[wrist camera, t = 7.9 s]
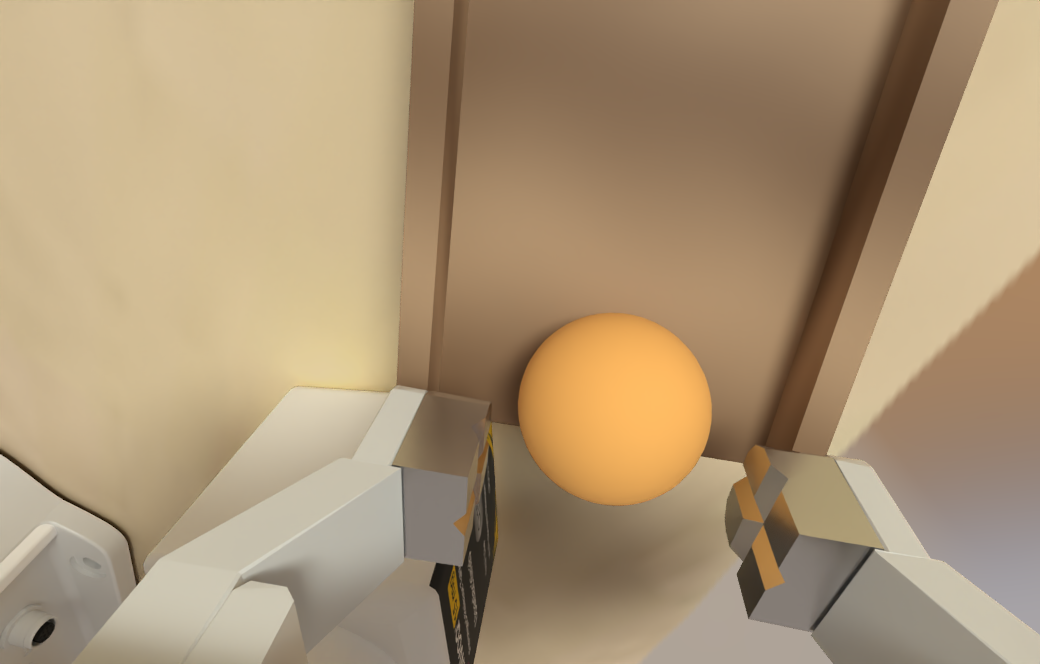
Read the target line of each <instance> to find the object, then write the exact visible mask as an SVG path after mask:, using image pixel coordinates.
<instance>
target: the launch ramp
mask: <svg viewBox="0 0 1040 664" xmlns="http://www.w3.org/2000/svg"><path fill="white" fill-rule="evenodd" d="M998 1H999V0H415V1H414V22H413V44H412V65H411V87H410V108H409V130H408V152H407V173H406V195H405V216H404V238H403V259H402V281H401V303H400V324H399V346H398V367H397V385H400V386H406V387H411V388H417V389H422V390H427V391H429V390H430V391H436V392H441V393H446V394H452V395H457V396H463V397H468V398H474V399H479V400H484V401H490V402H491V403H492V414H491V422H497V423H503V424H509V425H515V426H520V423H519V416H518V398H519V390H520V385H521V381H522V378H523V375H524V372H525V370H526V367H527V365H528V363H529V361H530V359H531V358H532V356H533V355H534V353H535V352H536V351H537V349H538V348H539V347H540V345H541V344H542V343H543V342H544V341H545V340H546V339H547V338H548V337H549V336H551V335H552V334H553V333H554V332H555V331H557V330H558V329H560V328H562V327H563V326H565V325H566V324H568V323H570V322H572V321H574V320H577V319H580V318H583V317H586V316H589V315H594V314H600V313H624V314H631V315H635V316H639V317H643V318H646V319H648V320H650V321H653V322H655V323H657V324H659V325H660V326H662V327H664V328H666V329H667V330H669V331H670V332H672V333H673V334H674V335H675V336H677V337H678V338H679V339H680V340H681V341H682V342H683V343H684V344H685V345H686V346H687V347H688V348H689V350H690V351H691V352H692V354H693V355H694V356H695V358H696V359H697V361H698V363H699V365H700V367H701V369H702V371H703V373H704V374H705V377H706V380H707V383H708V387H709V391H710V396H711V403H712V421H711V427H710V433H709V437H708V440H707V443H706V446H705V449H704V451H703V453H702V454H701V456H703V457H709V458H715V459H721V460H727V461H733V462H739V463H743V462H744V460H745V458H746V456H747V454H748V452H749V451H750V450H751V449H752V448H753V447H754V446H755V445H760V446H767V447H773V448H780V449H786V450H792V451H799V452H805V453H812V454H818V455H823V456H825V455H826V454H827V452H828V449H829V446H830V444H831V441H832V438H833V436H834V433H835V431H836V428H837V425H838V423H839V420H840V417H841V415H842V412H843V409H844V407H845V404H846V402H847V399H848V396H849V394H850V391H851V388H852V386H853V383H854V380H855V378H856V375H857V373H858V370H859V367H860V365H861V362H862V359H863V357H864V354H865V352H866V349H867V346H868V344H869V341H870V338H871V336H872V333H873V330H874V328H875V325H876V323H877V320H878V317H879V315H880V312H881V309H882V307H883V304H884V301H885V299H886V296H887V294H888V291H889V288H890V286H891V283H892V280H893V278H894V275H895V273H896V270H897V267H898V265H899V262H900V259H901V257H902V254H903V251H904V249H905V246H906V244H907V241H908V238H909V236H910V233H911V230H912V228H913V225H914V222H915V220H916V217H917V215H918V212H919V209H920V207H921V204H922V201H923V199H924V196H925V194H926V191H927V188H928V186H929V183H930V180H931V178H932V175H933V172H934V170H935V167H936V165H937V162H938V159H939V157H940V154H941V151H942V149H943V146H944V143H945V141H946V138H947V136H948V133H949V130H950V128H951V125H952V122H953V120H954V117H955V115H956V112H957V109H958V107H959V104H960V101H961V99H962V96H963V93H964V91H965V88H966V86H967V83H968V80H969V78H970V75H971V72H972V70H973V67H974V64H975V62H976V59H977V57H978V54H979V51H980V49H981V46H982V43H983V41H984V38H985V36H986V33H987V30H988V28H989V25H990V22H991V20H992V17H993V14H994V12H995V9H996V7H997V4H998Z"/></svg>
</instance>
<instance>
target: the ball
mask: <svg viewBox="0 0 1040 664" xmlns="http://www.w3.org/2000/svg"><path fill="white" fill-rule="evenodd" d="M518 416H519V423H520V429H521V432H522V435H523V438H524V441H525V444H526V446H527V448H528V450H529V452H530V454H531V456H532V458H533V459H534V461H535V462H536V464H537V465H538V466H539V468H540V469H541V470H542V471H543V472H544V473H545V475H546V476H547V477H549V478H550V479H551V480H552V481H553V482H554V483H555V484H557V485H558V486H559V487H561V488H562V489H564V490H565V491H567V492H569V493H570V494H572V495H574V496H576V497H579V498H581V499H584V500H586V501H590V502H593V503H597V504H603V505H612V506H624V505H633V504H637V503H642V502H645V501H648V500H651V499H653V498H656V497H658V496H660V495H662V494H664V493H666V492H667V491H669V490H671V489H672V488H674V487H675V486H676V485H677V484H679V483H680V482H681V481H682V480H683V479H684V478H685V477H686V476H687V475H688V474H689V473H690V472H691V470H692V469H693V468H694V466H695V465H696V464H697V462H698V460H699V458H700V456H701V454H702V453H703V451H704V449H705V446H706V443H707V440H708V437H709V433H710V427H711V421H712V403H711V396H710V391H709V387H708V383H707V380H706V377H705V374H704V373H703V371H702V369H701V367H700V365H699V363H698V361H697V359H696V358H695V356H694V355H693V354H692V352H691V351H690V350H689V348H688V347H687V346H686V345H685V344H684V343H683V342H682V341H681V340H680V339H679V338H678V337H677V336H675V335H674V334H673V333H672V332H670V331H669V330H667V329H666V328H664V327H662V326H660V325H659V324H657V323H655V322H653V321H650V320H648V319H646V318H643V317H639V316H635V315H631V314H624V313H600V314H594V315H589V316H586V317H583V318H580V319H577V320H574V321H572V322H570V323H568V324H566V325H565V326H563V327H562V328H560V329H558V330H557V331H555V332H554V333H553V334H552V335H551V336H549V337H548V338H547V339H546V340H545V341H544V342H543V343H542V344H541V345H540V347H539V348H538V349H537V351H536V352H535V353H534V355H533V356H532V358H531V359H530V361H529V363H528V365H527V367H526V370H525V372H524V375H523V378H522V381H521V385H520V390H519V398H518Z"/></svg>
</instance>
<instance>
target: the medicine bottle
mask: <svg viewBox="0 0 1040 664" xmlns="http://www.w3.org/2000/svg"><path fill="white" fill-rule="evenodd" d="M388 394H389V392H376V391H361V390H347V389H333V388H318V387H304V386H297V387H294V388H292V389H290V391H289V392H288V393H287V394H286V395H285V396H284V397H283V399H282V400H281V401H280V402H279V403H278V404H277V406H276V407H275V408H274V409H273V410H272V411H271V413H270V414H269V415H268V416H267V417H266V418H265V420H264V421H263V422H262V423H261V424H260V425H259V427H258V428H257V429H256V430H255V431H254V432H253V434H252V435H251V436H250V437H249V438H248V439H247V440H246V442H245V443H244V444H243V445H242V446H241V447H240V449H239V450H238V451H237V452H236V453H235V454H234V456H233V457H232V458H231V459H230V460H229V461H228V463H227V464H226V465H225V466H224V467H223V468H222V470H221V471H220V472H219V473H218V474H217V475H216V477H215V478H214V479H213V480H212V481H211V482H210V484H209V485H208V486H207V487H206V488H205V489H204V491H203V492H202V493H201V494H200V495H199V496H198V498H197V499H196V500H195V501H194V502H193V503H192V505H191V506H190V507H189V508H188V509H187V510H186V512H185V513H184V514H183V515H182V516H181V517H180V519H179V520H178V521H177V522H176V523H175V524H174V526H173V527H172V528H171V529H170V530H169V531H168V533H167V534H166V535H165V536H164V537H163V538H162V540H161V541H160V542H159V543H158V544H157V545H156V547H155V548H154V549H153V550H152V551H151V552H150V553H149V555H148V556H147V558H146V560H145V562H144V564H143V566H144V572H145V575H146V574H147V573H148V572H149V571H150V570H151V568H152V567H153V566H154V565H155V564H156V562H157V561H158V560H159V559H160V558H162V557H164V556H165V555H167V554H169V553H171V552H173V551H174V550H176V549H178V548H180V547H182V546H183V545H185V544H187V543H189V542H190V541H192V540H194V539H196V538H198V537H199V536H201V535H203V534H205V533H207V532H208V531H210V530H212V529H214V528H215V527H217V526H219V525H221V524H223V523H224V522H226V521H228V520H230V519H232V518H233V517H235V516H237V515H239V514H240V513H242V512H244V511H246V510H248V509H249V508H251V507H253V506H255V505H257V504H258V503H260V502H262V501H264V500H265V499H267V498H269V497H271V496H273V495H274V494H276V493H278V492H280V491H282V490H283V489H285V488H287V487H289V486H291V485H292V484H294V483H296V482H298V481H299V480H301V479H303V478H305V477H307V476H308V475H310V474H312V473H314V472H316V471H317V470H319V469H321V468H323V467H324V466H326V465H328V464H330V463H332V462H333V461H335V460H337V459H339V458H346V459H351V458H352V456H353V454H354V452H355V451H356V449H357V447H358V446H359V444H360V442H361V440H362V439H363V437H364V435H365V433H366V432H367V430H368V428H369V427H370V425H371V423H372V421H373V420H374V418H375V416H376V415H377V413H378V411H379V409H380V408H381V406H382V404H383V403H384V401H385V399H386V397H387V396H388ZM486 440H487V441H488V443H489V449H488V458H487V465H486V471H485V477H484V482H483V487H482V491H481V495H480V500H479V503H478V504H477V505H475V506H474V517H473V528H472V532H471V535H470V539H469V543H468V547H467V551H466V555H465V559H464V562H463V566H455V565H449V564H442V563H436V562H429V561H423V560H416V559H410V558H404V562H403V563H402V564H401V565H400V566H399V567H398V568H397V569H396V570H395V571H394V572H393V573H392V574H391V575H389V576H388V577H387V578H386V579H385V580H384V581H383V582H382V583H381V584H380V585H379V586H378V587H377V588H376V589H375V590H374V591H373V592H372V593H371V594H369V595H368V596H367V597H366V598H365V599H364V600H363V601H362V602H361V603H360V604H359V605H358V606H357V607H356V608H355V609H354V610H353V611H352V612H351V613H349V614H348V615H347V616H346V617H345V618H344V619H343V620H342V621H341V622H340V623H339V624H338V625H337V626H336V627H335V628H334V629H333V630H332V631H331V632H329V633H328V634H327V635H326V636H325V637H324V638H323V639H322V640H321V641H320V642H319V643H318V644H317V645H316V646H315V647H314V648H313V649H312V650H311V651H309V652H308V653H307V654H306V655H307V660H308V664H473V663H474V658H475V653H476V648H477V643H478V638H479V633H480V628H481V623H482V617H483V612H484V607H485V602H486V597H487V592H488V587H489V582H490V577H491V572H492V566H493V561H494V556H495V551H496V546H497V541H498V525H497V508H496V491H495V475H494V458H493V441H492V424H490V428H489V432H488V435H487V439H486Z"/></svg>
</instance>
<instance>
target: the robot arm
mask: <svg viewBox="0 0 1040 664" xmlns="http://www.w3.org/2000/svg"><path fill="white" fill-rule="evenodd" d="M491 414H492V403H491V402H490V401H484V400H479V399H474V398H468V397H463V396H457V395H452V394H446V393H441V392H436V391H430V390H429V391H427V390H422V389H417V388H411V387H406V386H400V385H397V386H396V387H394V388H393V389H392V390H390V392H389V394H388V396H387V397H386V399H385V401H384V403H383V404H382V406H381V408H380V409H379V411H378V413H377V415H376V416H375V418H374V420H373V421H372V423H371V425H370V427H369V428H368V430H367V432H366V433H365V435H364V437H363V439H362V440H361V442H360V444H359V446H358V447H357V449H356V451H355V452H354V454H353V456H352V458H351V459H346V458H339V459H337V460H335V461H333V462H332V463H330V464H328V465H326V466H324V467H323V468H321V469H319V470H317V471H316V472H314V473H312V474H310V475H308V476H307V477H305V478H303V479H301V480H299V481H298V482H296V483H294V484H292V485H291V486H289V487H287V488H285V489H283V490H282V491H280V492H278V493H276V494H274V495H273V496H271V497H269V498H267V499H265V500H264V501H262V502H260V503H258V504H257V505H255V506H253V507H251V508H249V509H248V510H246V511H244V512H242V513H240V514H239V515H237V516H235V517H233V518H232V519H230V520H228V521H226V522H224V523H223V524H221V525H219V526H217V527H215V528H214V529H212V530H210V531H208V532H207V533H205V534H203V535H201V536H199V537H198V538H196V539H194V540H192V541H190V542H189V543H187V544H185V545H183V546H182V547H180V548H178V549H176V550H174V551H173V552H171V553H169V554H167V555H165V556H164V557H162V558H160V559H159V560H158V561H157V562H156V564H155V565H154V566H153V567H152V568H151V570H150V571H149V572H148V573H147V574H146V575H145V577H144V578H143V579H142V580H141V581H140V583H139V584H138V585H137V586H136V581H135V576H134V571H133V566H132V562H131V557H130V552H129V547H128V543H127V541H126V539H125V537H124V536H123V535H122V534H121V533H120V532H119V531H118V530H117V529H115V528H114V527H113V526H111V525H110V524H108V523H106V522H105V521H103V520H101V519H99V518H97V517H96V516H94V515H92V514H90V513H88V512H86V511H84V510H82V509H80V508H78V507H76V506H74V505H72V504H70V503H69V502H67V501H65V500H63V499H61V498H59V497H58V496H56V495H55V494H53V493H52V492H51V491H49V490H48V489H46V488H45V487H44V486H42V485H41V484H40V483H39V482H37V481H36V480H35V479H33V478H32V477H31V476H30V475H28V474H27V473H26V472H24V471H23V470H22V469H20V468H19V467H18V466H16V465H15V464H14V463H12V462H11V461H9V460H8V459H7V458H5V457H4V456H2V455H1V454H0V664H308V660H307V655H306V654H307V653H308V652H309V651H311V650H312V649H313V648H314V647H315V646H316V645H317V644H318V643H319V642H320V641H321V640H322V639H323V638H324V637H325V636H326V635H327V634H328V633H329V632H331V631H332V630H333V629H334V628H335V627H336V626H337V625H338V624H339V623H340V622H341V621H342V620H343V619H344V618H345V617H346V616H347V615H348V614H349V613H351V612H352V611H353V610H354V609H355V608H356V607H357V606H358V605H359V604H360V603H361V602H362V601H363V600H364V599H365V598H366V597H367V596H368V595H369V594H371V593H372V592H373V591H374V590H375V589H376V588H377V587H378V586H379V585H380V584H381V583H382V582H383V581H384V580H385V579H386V578H387V577H388V576H389V575H391V574H392V573H393V572H394V571H395V570H396V569H397V568H398V567H399V566H400V565H401V564H402V563H403V562H404V558H410V559H416V560H423V561H429V562H436V563H442V564H449V565H455V566H463V562H464V559H465V555H466V551H467V547H468V543H469V539H470V535H471V532H472V528H473V517H474V506H475V505H477V504H478V503H479V500H480V495H481V491H482V487H483V482H484V477H485V471H486V465H487V458H488V449H489V443H488V441H487V440H486V439H487V435H488V432H489V428H490V424H491ZM743 466H744V469H745V472H746V475H747V477H745V478H743V479H742V480H740V481H738V482H736V483H735V484H733V486H732V489H731V491H730V494H729V496H728V499H727V504H726V512H725V526H726V534H727V538H728V542H729V546H730V548H731V549H732V550H733V551H734V552H735V553H736V554H737V555H738V556H739V557H740V559H741V560H742V561H743V563H742V565H741V567H740V569H739V571H738V573H737V577H738V581H739V585H740V588H741V592H742V596H743V600H744V603H745V607H746V611H747V614H748V619H751V620H756V621H761V622H766V623H770V624H775V625H780V626H785V627H789V628H794V629H799V630H804V631H808V632H813V633H812V635H811V636H812V637H813V638H814V640H815V641H816V642H817V644H818V645H819V646H820V647H821V649H822V650H823V651H824V652H825V653H826V655H827V656H828V658H829V659H830V660H831V661H832V662H833V664H1040V635H1039V634H1038V633H1036V632H1035V631H1034V630H1032V629H1031V628H1030V627H1029V626H1027V625H1026V624H1025V623H1023V622H1022V621H1021V620H1019V619H1018V618H1017V617H1016V616H1014V615H1013V614H1012V613H1010V612H1009V611H1008V610H1006V609H1005V608H1004V607H1002V606H1001V605H1000V604H999V603H997V602H996V601H995V600H993V599H992V598H991V597H989V596H988V595H987V594H986V593H984V592H983V591H982V590H980V589H979V588H978V587H976V586H975V585H974V584H972V583H971V582H970V581H968V580H967V579H966V578H965V577H963V576H962V575H961V574H959V573H958V572H957V571H956V570H954V569H953V568H951V567H950V566H949V565H948V564H946V563H945V562H944V561H939V560H934V559H930V557H929V555H928V554H927V552H926V551H925V549H924V548H923V546H922V544H921V543H920V541H919V540H918V538H917V537H916V535H915V534H914V532H913V530H912V529H911V527H910V526H909V524H908V523H907V521H906V519H905V518H904V516H903V515H902V513H901V512H900V510H899V509H898V507H897V505H896V504H895V502H894V501H893V499H892V498H891V496H890V495H889V493H888V491H887V490H886V488H885V487H884V485H883V483H882V482H881V480H880V479H879V477H878V476H877V474H876V473H875V471H874V469H873V468H872V467H871V466H870V465H869V464H867V463H866V462H864V461H863V460H859V459H851V458H845V457H837V456H830V455H825V456H823V455H818V454H812V453H805V452H799V451H792V450H786V449H780V448H773V447H767V446H760V445H755V446H754V447H753V448H752V449H751V450H750V451H749V452H748V454H747V456H746V458H745V460H744V462H743Z"/></svg>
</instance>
